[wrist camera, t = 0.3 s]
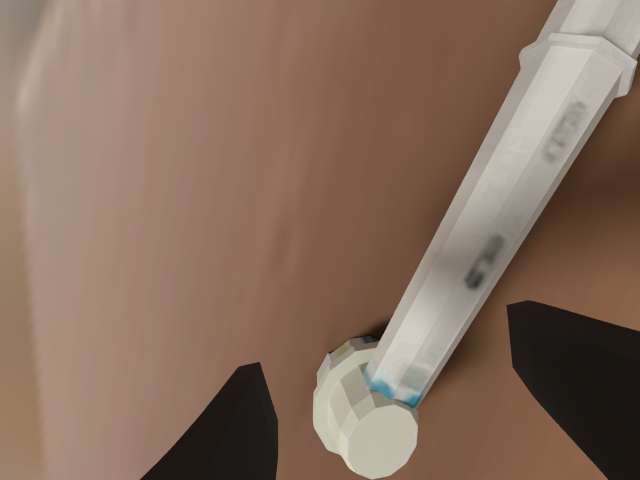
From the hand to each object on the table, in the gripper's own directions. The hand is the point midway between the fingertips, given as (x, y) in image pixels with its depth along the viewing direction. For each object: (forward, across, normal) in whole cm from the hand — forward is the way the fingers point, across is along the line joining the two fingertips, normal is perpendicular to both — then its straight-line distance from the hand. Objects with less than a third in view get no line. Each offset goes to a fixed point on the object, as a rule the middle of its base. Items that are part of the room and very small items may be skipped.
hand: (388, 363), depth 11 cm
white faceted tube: (+10, -6, 0) cm, 12 cm away
